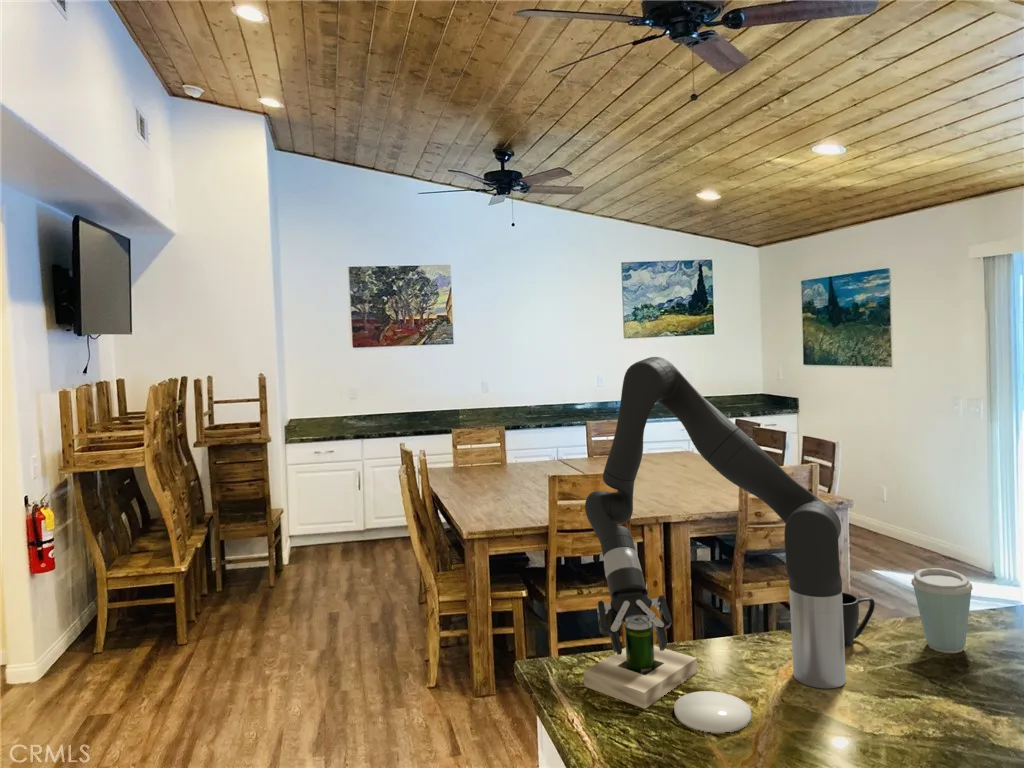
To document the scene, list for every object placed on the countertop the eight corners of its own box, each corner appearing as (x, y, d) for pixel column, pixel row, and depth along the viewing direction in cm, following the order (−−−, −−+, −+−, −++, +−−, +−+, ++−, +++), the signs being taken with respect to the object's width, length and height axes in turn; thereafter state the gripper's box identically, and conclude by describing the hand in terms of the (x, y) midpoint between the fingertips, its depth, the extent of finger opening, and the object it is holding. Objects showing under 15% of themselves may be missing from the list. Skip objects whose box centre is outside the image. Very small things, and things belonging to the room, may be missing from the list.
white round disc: (698, 688, 133) (698, 684, 133) (764, 710, 124) (764, 705, 124) (660, 716, 124) (659, 712, 124) (728, 742, 115) (728, 737, 115)
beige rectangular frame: (638, 654, 149) (637, 640, 149) (697, 672, 139) (696, 658, 139) (584, 686, 137) (583, 671, 137) (644, 709, 127) (644, 692, 127)
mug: (886, 647, 146) (884, 601, 145) (828, 651, 146) (826, 605, 145) (865, 631, 154) (863, 588, 154) (810, 635, 154) (809, 592, 153)
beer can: (661, 681, 137) (657, 620, 136) (638, 688, 134) (635, 626, 134) (644, 670, 142) (641, 612, 141) (622, 677, 139) (618, 618, 139)
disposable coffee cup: (987, 657, 139) (985, 581, 138) (932, 660, 139) (929, 584, 138) (954, 635, 149) (951, 565, 149) (903, 638, 149) (900, 568, 149)
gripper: (592, 568, 144) (607, 646, 133) (660, 562, 145) (681, 639, 134) (588, 585, 150) (603, 662, 139) (654, 580, 151) (673, 655, 140)
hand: (641, 651), depth 136 cm, fingers open, 8 cm apart
